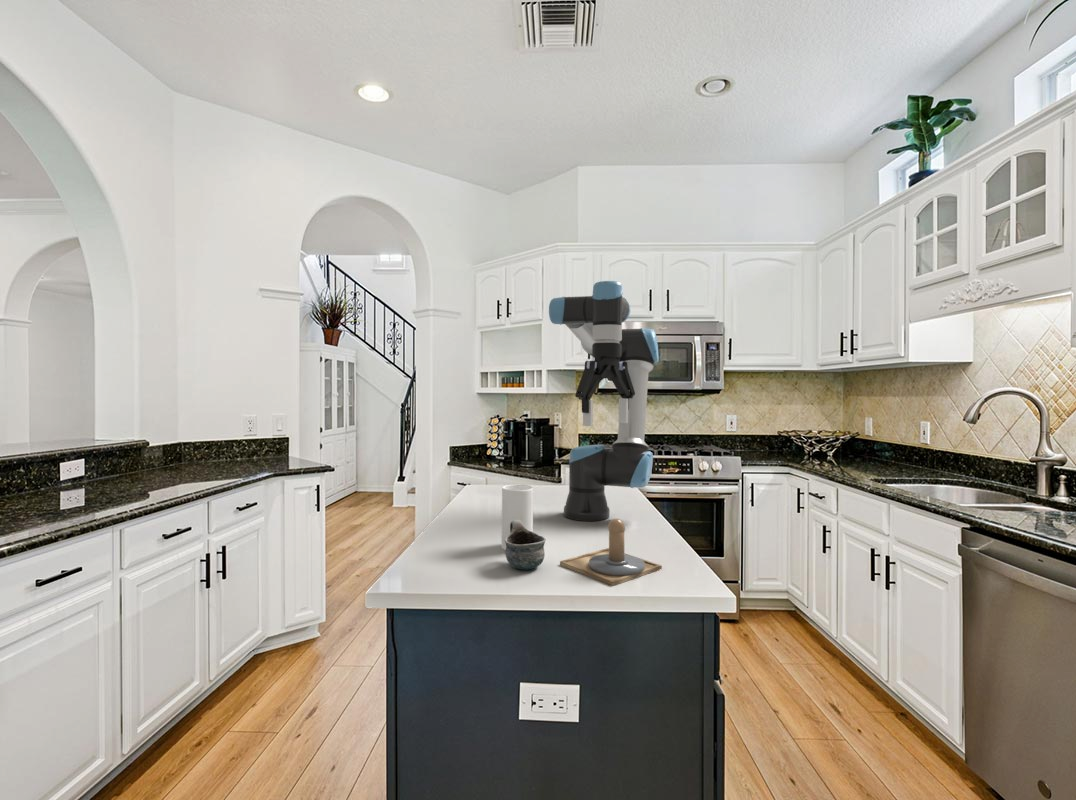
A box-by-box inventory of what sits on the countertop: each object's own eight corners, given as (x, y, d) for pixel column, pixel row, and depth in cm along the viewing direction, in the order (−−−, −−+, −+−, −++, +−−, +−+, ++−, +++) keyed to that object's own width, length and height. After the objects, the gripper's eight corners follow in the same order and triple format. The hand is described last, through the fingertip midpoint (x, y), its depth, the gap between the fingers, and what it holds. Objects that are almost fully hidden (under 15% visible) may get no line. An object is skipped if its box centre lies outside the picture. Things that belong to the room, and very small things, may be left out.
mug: (517, 577, 121) (517, 533, 121) (491, 561, 132) (491, 520, 131) (552, 569, 127) (553, 527, 126) (524, 555, 137) (525, 515, 137)
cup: (528, 553, 139) (529, 491, 138) (498, 550, 140) (498, 489, 140) (535, 543, 147) (536, 485, 146) (506, 541, 148) (506, 483, 148)
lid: (614, 554, 136) (614, 510, 136) (656, 567, 126) (656, 519, 126) (577, 565, 128) (577, 518, 128) (619, 579, 118) (619, 528, 118)
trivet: (608, 551, 141) (608, 548, 141) (661, 569, 128) (661, 565, 128) (560, 564, 130) (560, 561, 130) (612, 585, 117) (613, 581, 117)
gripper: (627, 344, 150) (626, 420, 152) (561, 341, 134) (561, 426, 135) (648, 343, 145) (647, 422, 146) (583, 339, 129) (582, 428, 130)
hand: (606, 424), depth 141 cm, fingers open, 13 cm apart
